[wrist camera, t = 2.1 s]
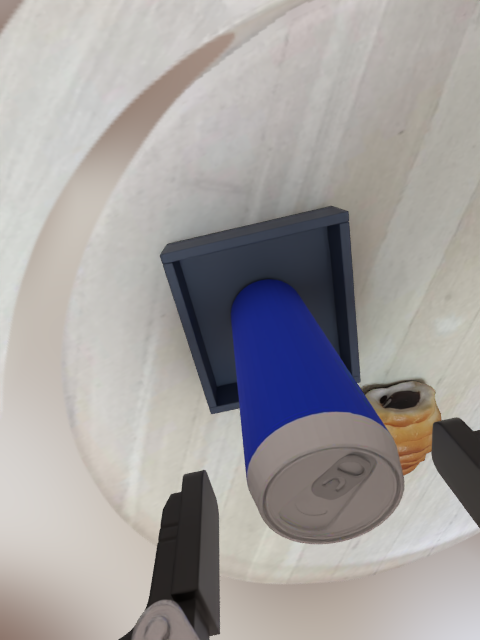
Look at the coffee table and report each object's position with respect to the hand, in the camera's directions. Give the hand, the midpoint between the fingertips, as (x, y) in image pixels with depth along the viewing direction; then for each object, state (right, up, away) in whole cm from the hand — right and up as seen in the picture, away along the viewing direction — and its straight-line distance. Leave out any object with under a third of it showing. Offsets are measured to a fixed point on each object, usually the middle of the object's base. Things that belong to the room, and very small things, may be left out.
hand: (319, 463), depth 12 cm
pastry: (+11, -4, +18) cm, 21 cm away
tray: (-1, +6, +13) cm, 14 cm away
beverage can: (-1, +6, +12) cm, 14 cm away
